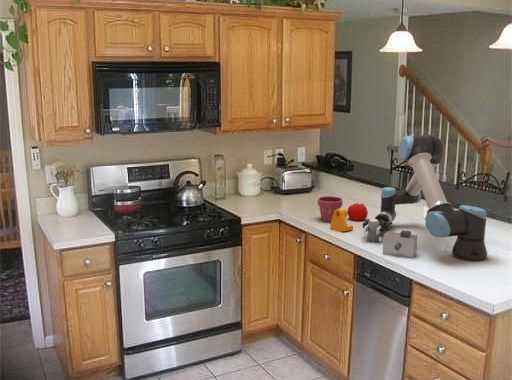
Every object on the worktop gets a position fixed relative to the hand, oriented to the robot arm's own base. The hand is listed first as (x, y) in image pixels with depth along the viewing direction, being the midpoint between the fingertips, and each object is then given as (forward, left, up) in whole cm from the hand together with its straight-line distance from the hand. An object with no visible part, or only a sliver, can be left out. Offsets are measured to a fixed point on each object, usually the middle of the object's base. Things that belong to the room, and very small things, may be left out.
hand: (370, 231), depth 262 cm
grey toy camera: (-17, -1, -6) cm, 18 cm away
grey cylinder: (+2, -5, -7) cm, 8 cm away
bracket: (+26, -10, -7) cm, 28 cm away
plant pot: (+43, -20, -7) cm, 48 cm away
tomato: (+33, -33, -7) cm, 47 cm away
